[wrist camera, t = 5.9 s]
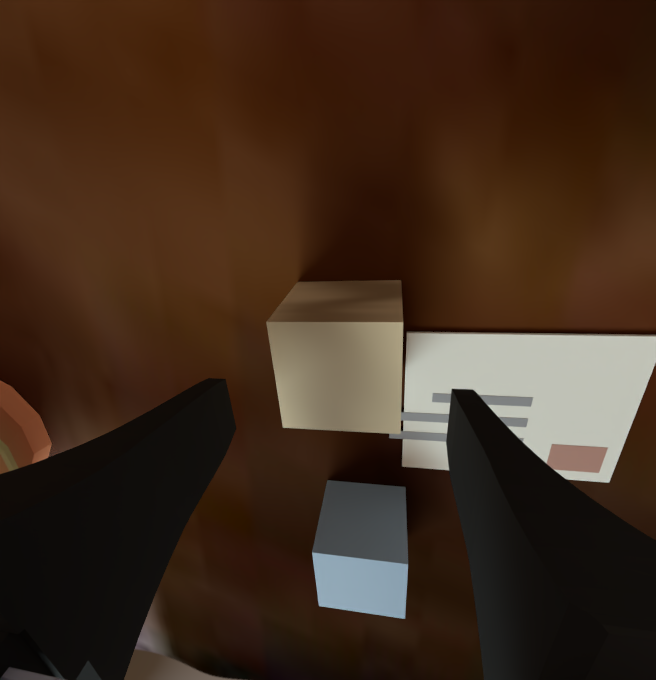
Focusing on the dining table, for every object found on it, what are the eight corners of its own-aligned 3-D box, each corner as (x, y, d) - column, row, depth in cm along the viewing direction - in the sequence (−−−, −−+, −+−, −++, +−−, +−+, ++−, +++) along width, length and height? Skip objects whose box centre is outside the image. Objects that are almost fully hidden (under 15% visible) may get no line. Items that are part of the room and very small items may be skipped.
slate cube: (405, 485, 21) (408, 564, 17) (403, 537, 22) (404, 618, 19) (327, 479, 21) (312, 552, 17) (332, 529, 23) (319, 605, 19)
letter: (663, 334, 14) (666, 336, 14) (607, 480, 18) (609, 482, 18) (390, 331, 16) (390, 333, 16) (388, 463, 20) (388, 465, 20)
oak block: (401, 279, 15) (403, 322, 11) (399, 370, 17) (400, 434, 13) (298, 281, 16) (266, 321, 12) (307, 367, 18) (283, 427, 14)
